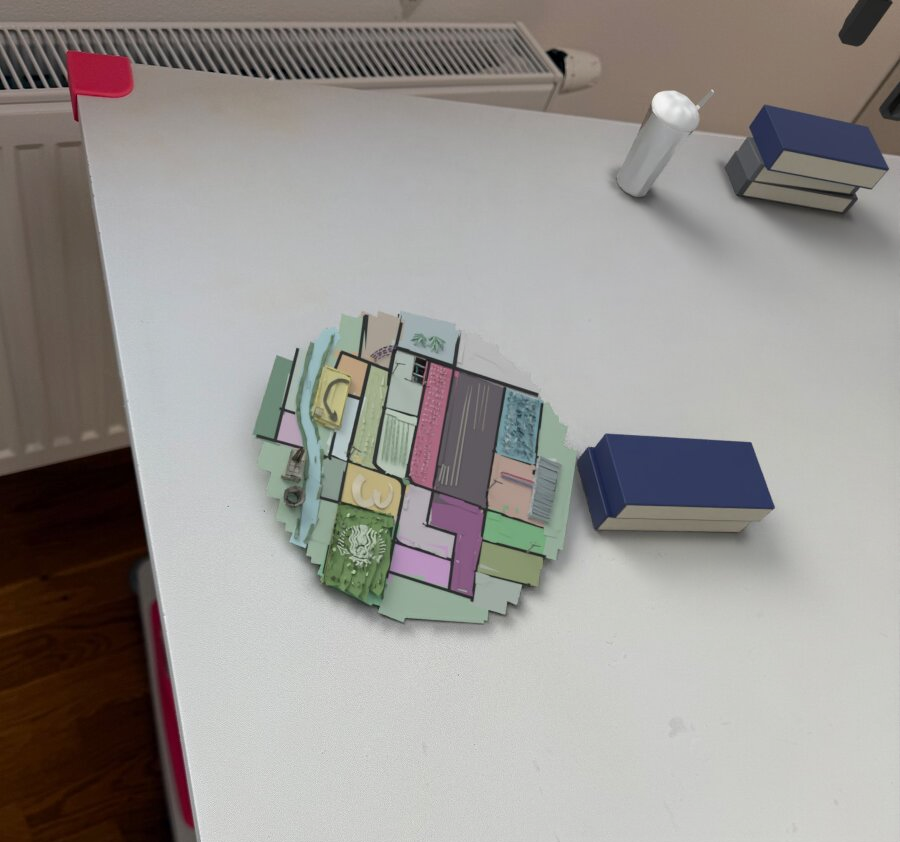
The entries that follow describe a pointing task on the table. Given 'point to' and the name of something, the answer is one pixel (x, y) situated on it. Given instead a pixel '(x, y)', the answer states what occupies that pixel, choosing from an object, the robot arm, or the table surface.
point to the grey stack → (784, 183)
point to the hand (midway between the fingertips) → (868, 78)
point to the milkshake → (658, 140)
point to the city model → (416, 466)
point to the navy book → (817, 147)
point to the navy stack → (673, 484)
